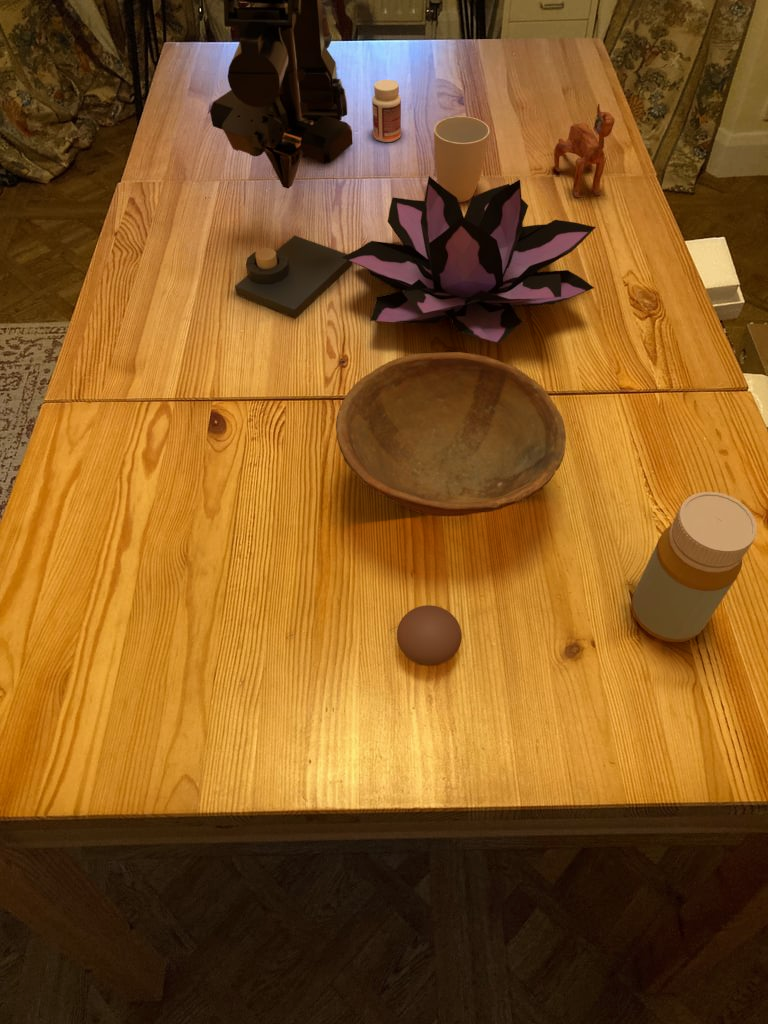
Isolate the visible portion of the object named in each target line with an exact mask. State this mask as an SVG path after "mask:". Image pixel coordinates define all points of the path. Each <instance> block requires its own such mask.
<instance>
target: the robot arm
mask: <svg viewBox="0 0 768 1024" xmlns="http://www.w3.org/2000/svg"><path fill="white" fill-rule="evenodd" d="M236 1H237V2H238V4H239V3H241V4H250V3H255V5H254V6H253V7H247V6H235V4H236ZM321 4H322V0H223V21H224V27H225V28H226V27H228V28H238V33H239V42H238V45H237V47H236V49H235V52H234V54H233V57H232V59H231V61H230V64H229V66H228V71H227V81H228V86H229V88H230V90H229V91H227V92H226V93H225V94H223V95H222V96H220V97H218V98H217V99H215V100H214V101H212V104H211V106H210V109H209V114H210V119H211V124H212V127H213V128H217V129H220V130H223V132H224V134H225V136H226V138H227V141H228V142H229V145H230V146H231V149H233V150H234V151H237V152H239V151H240V152H242V153H246V154H249V156H251V157H260V156H261V155H263V154H265V156H266V157H267V158H268V160H269V163H270V165H271V166H272V167H273V170H274V172H275V174H276V176H277V178H278V180H279V182H280V184H281V186H282V187H283V188H285V189H290V188H292V187H293V184H294V182H295V179H296V175H297V173H298V170H299V167H300V163H301V160H302V158H306V159H309V160H311V161H316V162H318V163H320V164H329V163H332V162H333V161H334V160H335V159H337V158H338V157H339V156H340V155H341V154H343V153H344V152H345V151H346V150H347V149H349V148H350V147H351V146H352V145H353V144H354V140H353V130H352V129H353V128H352V127H351V125H350V124H349V123H348V122H347V121H343V120H342V119H343V117H346V116H348V100H347V95H346V90H345V89H344V87H343V84H342V80H341V78H338V72H337V64H336V60H335V59H334V58H333V56H332V55H331V53H330V52H329V50H328V48H327V49H326V47H325V46H324V37H323V23H322V10H321ZM287 9H288V10H287Z"/></svg>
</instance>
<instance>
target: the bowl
mask: <svg viewBox="0 0 768 1024" xmlns="http://www.w3.org/2000/svg"><path fill="white" fill-rule="evenodd" d="M335 432H336V440H337V445H338V447H339V450H340V453H341V456H342V458H343V459H344V461H345V463H346V464H347V465H348V467H349V468H350V469H351V471H352V472H353V473H354V474H355V476H357V478H358V479H359V480H360V481H361V482H363V483H364V484H365V485H366V486H367V487H369V488H370V489H372V490H374V491H375V492H376V493H378V494H380V495H382V496H383V497H385V498H387V499H389V500H391V501H393V502H395V503H397V504H399V505H401V506H402V507H405V508H407V509H409V510H411V511H414V512H417V513H420V514H423V515H427V516H434V517H435V516H437V517H461V516H469V515H475V514H484V513H492V512H495V511H498V510H501V509H504V508H505V509H506V508H508V507H510V506H513V505H515V504H518V503H520V502H522V501H524V500H527V499H530V498H532V497H533V496H535V495H536V494H537V493H538V492H540V491H542V490H543V489H544V487H546V486H547V484H549V482H550V481H551V480H552V478H553V477H554V476H555V474H556V472H557V471H558V470H559V468H560V467H561V464H562V462H563V460H564V456H565V454H566V453H565V452H566V443H567V433H566V432H567V431H566V426H565V423H564V419H563V416H562V414H561V413H560V411H559V409H558V407H557V406H556V405H555V402H553V400H552V398H551V396H550V395H549V393H548V392H547V391H546V389H545V388H544V387H543V386H542V385H541V384H540V383H538V382H537V381H536V380H535V379H533V378H531V377H530V376H529V375H528V374H526V373H525V372H524V371H522V370H520V369H519V368H518V367H516V366H514V365H512V364H509V363H506V362H502V361H501V360H498V359H495V358H492V357H490V356H487V355H486V356H485V355H481V354H476V353H468V352H461V351H460V352H459V351H448V352H447V351H446V352H429V353H427V352H425V353H414V354H413V353H412V354H407V355H404V356H401V357H398V358H395V359H393V360H391V361H388V362H386V363H384V364H382V365H380V366H379V367H377V368H375V369H374V370H373V371H371V372H370V373H368V374H367V375H365V376H364V377H362V378H361V379H360V380H358V381H357V382H356V383H355V384H354V385H353V386H352V388H351V389H350V390H349V391H348V392H347V393H346V395H345V397H344V399H343V401H342V402H341V404H340V407H339V409H338V410H337V415H336V420H335Z"/></svg>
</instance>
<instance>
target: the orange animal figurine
mask: <svg viewBox="0 0 768 1024" xmlns="http://www.w3.org/2000/svg"><path fill="white" fill-rule="evenodd" d="M614 125H615V117H614V116H613V115H612V113H610V112H608V111H601V105H600V103H598V104H597V108H596V117H595V120H594V125H593V130H592V129H591V128H590V126H589V125H588V124H587V123H586V122H585V123H584V122H583V123H582V122H580V123H573V124H572V125H570V128H569V131H568V132H569V133H568V138H567V139H565V140H564V139H563V138H559V139H558V142H557V143H556V145H555V147H554V151H553V159H554V161H553V163H554V169H555V171H556V172H558V173H559V172H560V170H561V169H560V157H563V156H564V155H566V154H567V153H570V154H574V155H576V156H578V157H579V158H577V159H576V160H575V164H576V170H575V176H574V179H573V185H572V193H573V196H574V197H575V198H581V193H580V183H581V178H582V175H583V171H584V167H585V166H586V167H587V169H589V170H591V169H593V168H594V166H593V165H595V172H594V174H593V178H592V186H591V187H592V189H591V190H592V193H593V195H594V196H601V193H602V192H601V178H602V176H603V174H604V169H605V166H606V162H607V158H606V156H605V152H604V148H605V138H607V137H609V136H610V135H611V133H612V131H613V128H614ZM594 132H595V133H594ZM597 136H598V138H597Z"/></svg>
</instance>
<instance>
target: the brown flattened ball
mask: <svg viewBox="0 0 768 1024" xmlns="http://www.w3.org/2000/svg"><path fill="white" fill-rule="evenodd" d="M462 636H463V634H462V628H461V626H460V623H459V622H458V620H457V618H456V617H455V616H454V615H453V613H451V612H450V611H448V610H447V609H445V608H443V607H440V606H437V605H431V604H429V605H428V604H426V605H420V606H416V607H414V608H412V609H411V610H409V611H407V612H406V614H404V615H403V617H402V618H401V620H400V621H399V623H398V626H397V629H396V642H397V645H398V647H399V650H400V651H401V653H402V654H403V656H405V658H406V659H408V660H409V661H411V662H412V663H414V664H416V665H419V666H423V667H437V666H440V665H443V664H446V663H447V662H449V661H450V660H451V659H453V657H455V655H456V654H457V653H458V651H459V649H460V647H461V645H462V639H463V637H462Z"/></svg>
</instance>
